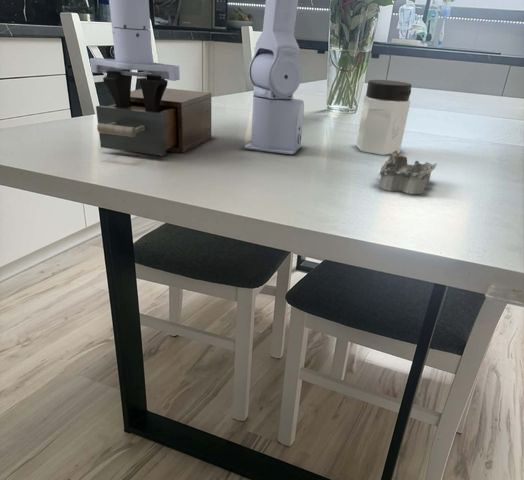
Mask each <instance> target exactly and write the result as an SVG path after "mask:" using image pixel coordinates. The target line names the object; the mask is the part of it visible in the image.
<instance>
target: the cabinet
mask: <svg viewBox="0 0 524 480" xmlns="http://www.w3.org/2000/svg"><path fill="white" fill-rule="evenodd" d="M130 101H131V102H136V103H144V97H143V93H142V89H141V88H138V89H135V90H131V95H130ZM113 103H114V104H115V102H114V101H113ZM114 104H113V105H114ZM160 105H163V106H172V107H177V111H178V138H179V144H177V145H175V146H173V147H171V148H169V149H167V150H166V152H170V153H171V152H172V153H178V154H184V153H186V152H188V151H190V150H191V149H194V148H195V147H197V146H199V145H201V144H203V143H205V142H206V141H208V140H210V139H212V92H206V91H205V92H204V91H197V90H188V89H187V90H186V89H177V88H167V87H166V89H165V91H164V94H163V96H162V99H161V102H160Z"/></svg>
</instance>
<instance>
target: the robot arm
mask: <svg viewBox="0 0 524 480" xmlns="http://www.w3.org/2000/svg"><path fill="white" fill-rule="evenodd" d="M108 1H109V10H110V11H109V12H110V22H111V31H112V41H113V50H114V51H113V53H114V58H101V57H93V58H92V57H91V58H89V65H90V72H91V73H94V74H95V73H96V74H99V73H101V74H106V75H105V77H104V76H103V77H102V81H103V83H104V85H105V88H107V90H108V92H109V93H110V95H111V97H112V100H113V103H114V102H115V104H116V106H117V107H118V108H127V107H130V106H131V101H130V95H131V91H132V80H133V77H138V78H139V77H141V78H144V79H139V85H140V89H142V93H143V97H144V103H145V111H152V112H158V110H159V106H160V102H161V99H162V96H163V94H164V91H165V89H166V88H167V87H168V81H173V82H176V81H180V65H175V64H174V65H173V64H166V63H161V62H154V61H153V47H152V30H151V15H150V13H151V12H150V0H108ZM264 4H265V5H264V15H263V25H262V31H261V33H260V35H259V37H258V39H257V40H256V42H255V49H254V52H253V56H252V58H251V60H250V62H249V66H248V77H249V81H250V82H251V84H252V86H253V91H252V95H253V96H252V113H251V138H250V142H248V143H247V144H245V145H244V146H243V147H244V149H245V150H251V151H252V150H253V151H260V152H267V153H268V152H269V153H277V154H284V155H295V154H296V152H298V150H300V148H301V147H302V135H303V125H304V117H305V116H304V115H305V103H304V100H302V99H297V98H294V93H295V92H296V91H297V90H298V88H299V86H300V84H301V81H302V68H301V65H300V51H301V49H300V46H299V44H298V42H297V40H296V37H295V29H296V21H297V13H298V5H299V0H265V3H264ZM136 71H142V72H136Z"/></svg>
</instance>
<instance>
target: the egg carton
mask: <svg viewBox="0 0 524 480" xmlns="http://www.w3.org/2000/svg"><path fill="white" fill-rule="evenodd" d="M436 167H437V163H430V162H427V161H425V163H420V161H419V160H415V162H414V164H408V157H407V156H405V155H402V154H399V153H397V150H396V151H393V153H392V154H389V158H388V159H387V160H386V161H385V163H384V164H383V165H382V166H381V168H380V172H379V174H378V175H380V180H379V183H378V188H379V189H382V190H385V191H388V192H393V191H396V192H397V191H398V192H403V193H406V194H409V195H423V194H424V190H426V188H427V185H428V184H429V182H430V179H431V174H432V171H434V170H435V169H436Z"/></svg>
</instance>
